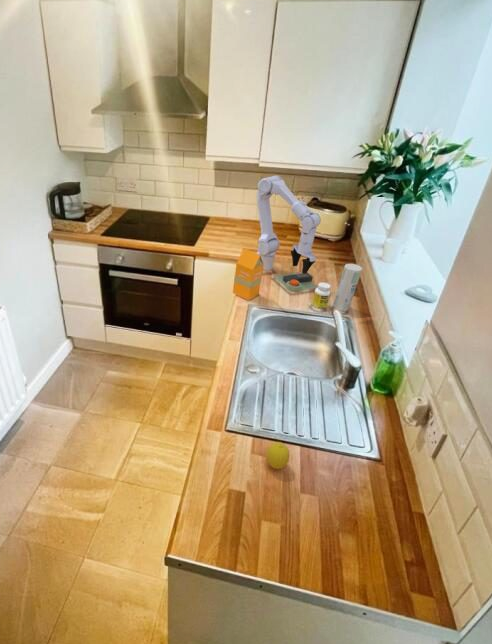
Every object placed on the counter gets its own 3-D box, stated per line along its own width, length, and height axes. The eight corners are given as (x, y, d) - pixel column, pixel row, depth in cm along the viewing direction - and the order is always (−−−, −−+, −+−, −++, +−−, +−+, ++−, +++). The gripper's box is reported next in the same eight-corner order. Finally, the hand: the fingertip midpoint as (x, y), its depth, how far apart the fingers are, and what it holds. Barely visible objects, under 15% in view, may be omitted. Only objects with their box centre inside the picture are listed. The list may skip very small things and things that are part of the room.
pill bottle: (318, 313, 165) (324, 289, 159) (307, 306, 169) (313, 283, 163) (328, 310, 167) (335, 286, 161) (318, 303, 172) (324, 280, 166)
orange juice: (243, 287, 181) (249, 246, 170) (258, 294, 176) (266, 252, 165) (232, 292, 176) (237, 250, 165) (248, 300, 171) (255, 257, 160)
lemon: (261, 457, 104) (266, 436, 99) (282, 456, 104) (288, 435, 100) (267, 475, 99) (272, 455, 95) (288, 474, 99) (295, 454, 95)
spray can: (344, 316, 164) (358, 272, 153) (329, 310, 167) (342, 266, 156) (350, 310, 168) (364, 267, 157) (335, 304, 171) (348, 262, 160)
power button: (288, 283, 179) (289, 279, 178) (295, 282, 180) (295, 278, 179) (292, 287, 176) (293, 283, 175) (299, 286, 178) (300, 282, 177)
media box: (271, 278, 189) (272, 272, 187) (297, 275, 194) (298, 268, 192) (290, 295, 177) (291, 288, 175) (317, 291, 181) (319, 284, 179)
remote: (287, 284, 182) (288, 279, 180) (282, 280, 185) (283, 275, 184) (311, 281, 186) (313, 276, 184) (306, 277, 189) (307, 272, 188)
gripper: (324, 247, 170) (316, 275, 178) (304, 234, 181) (298, 261, 189) (310, 248, 168) (303, 277, 176) (291, 235, 179) (285, 263, 187)
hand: (299, 269), depth 182 cm, fingers open, 7 cm apart
